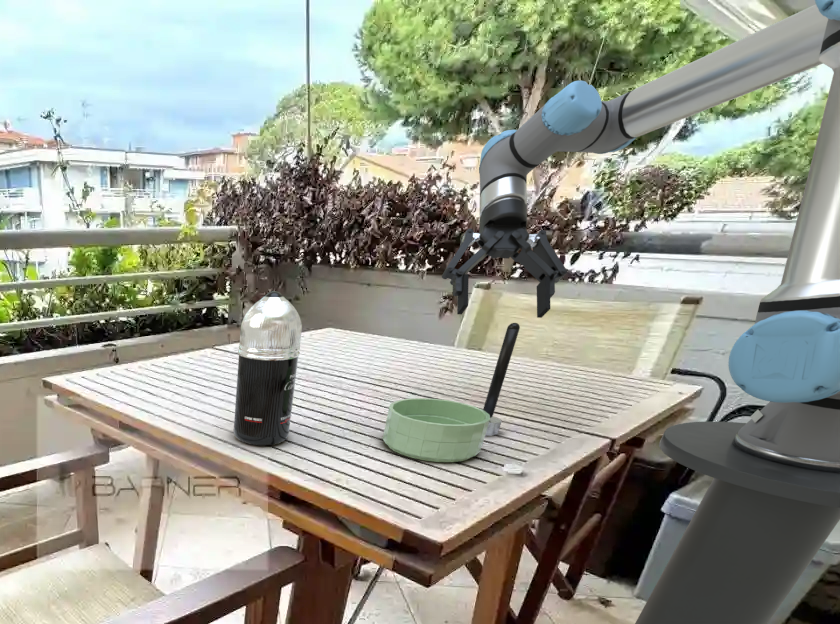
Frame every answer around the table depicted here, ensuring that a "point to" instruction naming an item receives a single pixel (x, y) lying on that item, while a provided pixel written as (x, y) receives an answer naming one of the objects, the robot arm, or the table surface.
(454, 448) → the bowl
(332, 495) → the table surface
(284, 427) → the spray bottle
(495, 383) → the grey disc on rod
